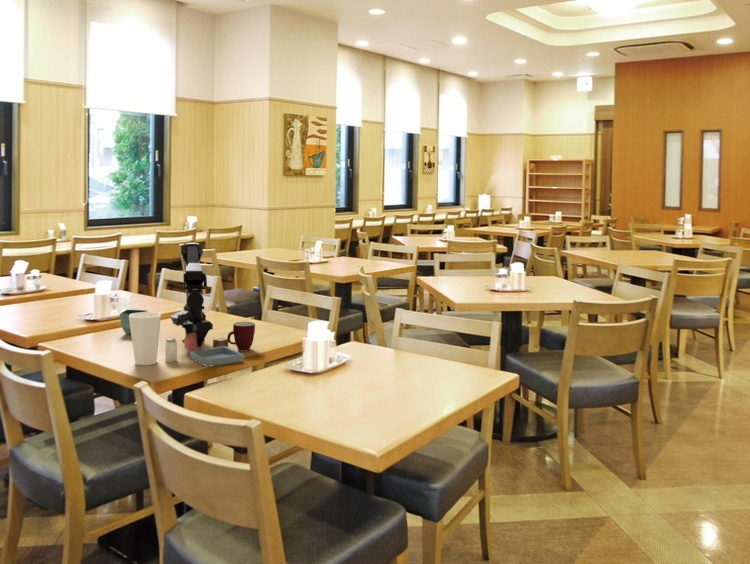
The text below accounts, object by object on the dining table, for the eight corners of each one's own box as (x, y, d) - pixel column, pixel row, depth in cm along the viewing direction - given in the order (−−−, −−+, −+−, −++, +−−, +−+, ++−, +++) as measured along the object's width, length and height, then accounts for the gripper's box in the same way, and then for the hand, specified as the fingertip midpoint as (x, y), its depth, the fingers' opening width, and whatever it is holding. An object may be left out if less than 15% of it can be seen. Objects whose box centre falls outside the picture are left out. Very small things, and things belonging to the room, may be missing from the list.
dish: (189, 358, 259) (189, 351, 258) (225, 353, 267) (225, 346, 267) (206, 367, 248) (206, 359, 247) (243, 361, 256) (243, 354, 256)
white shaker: (163, 360, 255) (163, 338, 253) (174, 358, 257) (174, 337, 256) (167, 362, 252) (167, 341, 250) (178, 361, 254) (178, 339, 253)
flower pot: (141, 336, 290) (140, 314, 288) (119, 335, 290) (119, 313, 288) (148, 331, 298) (148, 310, 297) (127, 330, 298) (126, 309, 297)
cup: (168, 361, 254) (167, 313, 251) (150, 368, 244) (149, 319, 241) (141, 357, 257) (140, 310, 255) (123, 364, 248) (122, 316, 245)
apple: (187, 355, 262) (186, 334, 261) (182, 350, 269) (182, 329, 267) (207, 353, 266) (207, 332, 264) (202, 349, 272) (202, 328, 271)
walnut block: (213, 349, 272) (212, 339, 272) (221, 347, 275) (221, 337, 275) (220, 351, 270) (220, 341, 269) (228, 349, 273) (228, 339, 272)
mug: (233, 354, 266) (233, 327, 264) (223, 349, 272) (223, 323, 270) (258, 350, 273) (258, 324, 271) (248, 346, 279) (248, 320, 277)
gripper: (163, 301, 267) (164, 342, 269) (183, 309, 252) (184, 352, 255) (191, 298, 273) (192, 338, 276) (213, 306, 259) (213, 348, 261)
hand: (194, 344), depth 267 cm, fingers closed on apple, 7 cm apart
